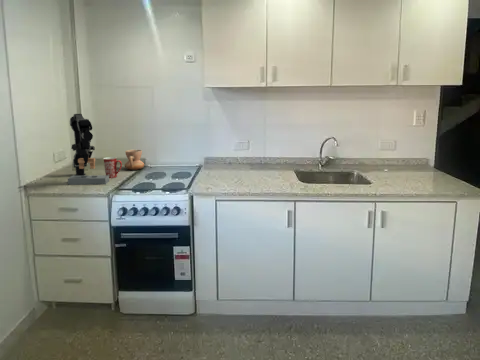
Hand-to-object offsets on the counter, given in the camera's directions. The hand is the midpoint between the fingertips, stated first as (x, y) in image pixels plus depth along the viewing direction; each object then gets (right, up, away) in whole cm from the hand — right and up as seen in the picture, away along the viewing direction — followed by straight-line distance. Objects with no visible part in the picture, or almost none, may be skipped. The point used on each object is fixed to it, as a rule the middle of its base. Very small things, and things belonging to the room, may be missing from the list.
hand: (87, 163), depth 289 cm
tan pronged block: (0, -3, +1) cm, 4 cm away
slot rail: (0, -13, +3) cm, 13 cm away
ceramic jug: (+20, -3, +47) cm, 51 cm away
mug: (+12, -9, +20) cm, 25 cm away
